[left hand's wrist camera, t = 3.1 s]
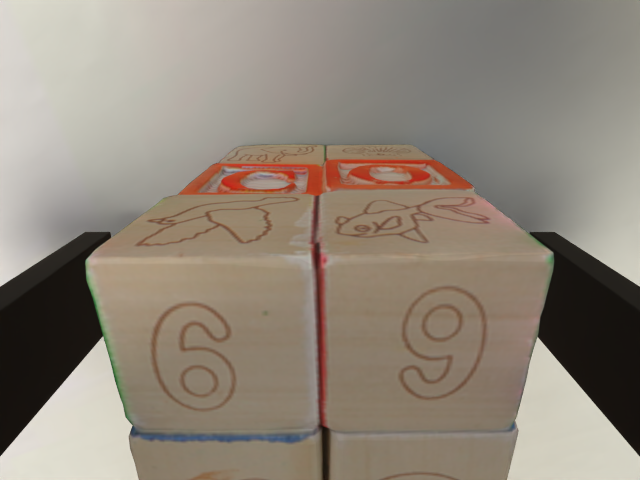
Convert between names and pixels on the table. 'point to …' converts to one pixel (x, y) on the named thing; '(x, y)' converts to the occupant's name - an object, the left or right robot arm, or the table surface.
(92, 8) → the table surface
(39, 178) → the table surface
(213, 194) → the stack of blocks
